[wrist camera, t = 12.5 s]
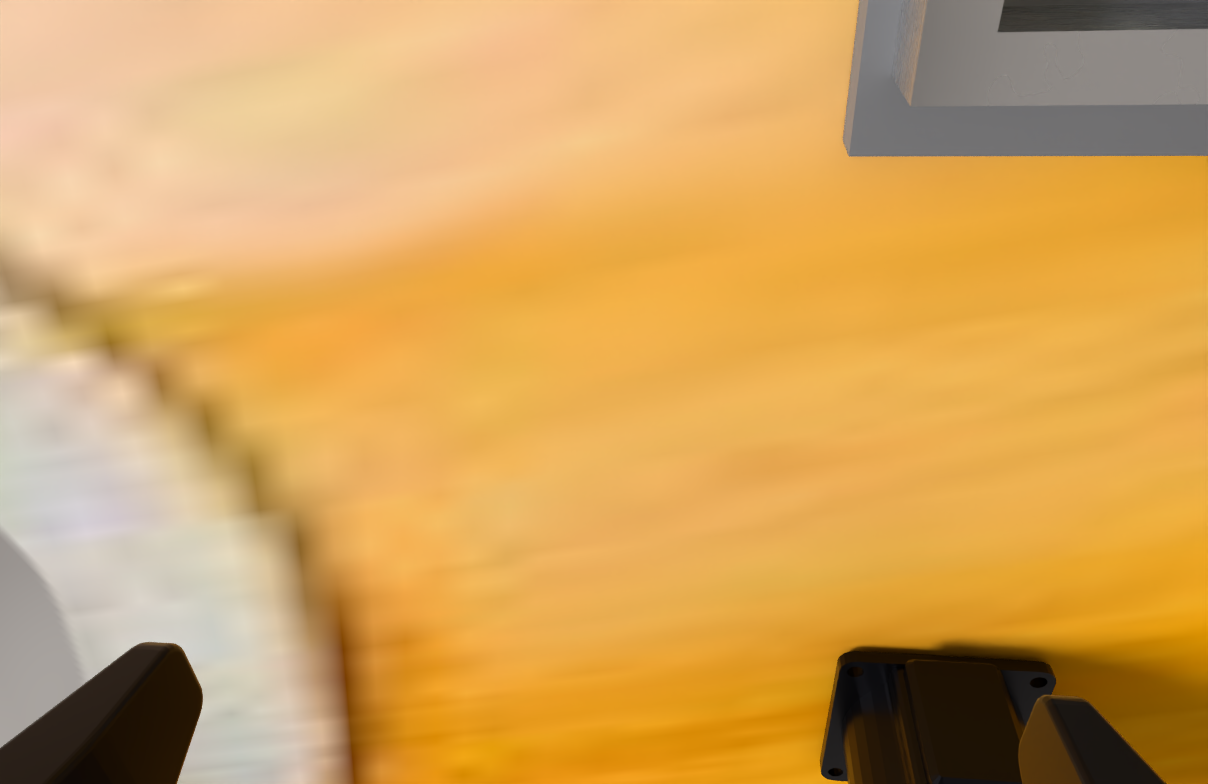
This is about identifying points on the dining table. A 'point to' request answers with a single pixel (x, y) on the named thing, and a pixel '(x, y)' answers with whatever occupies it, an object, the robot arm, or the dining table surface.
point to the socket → (1029, 78)
